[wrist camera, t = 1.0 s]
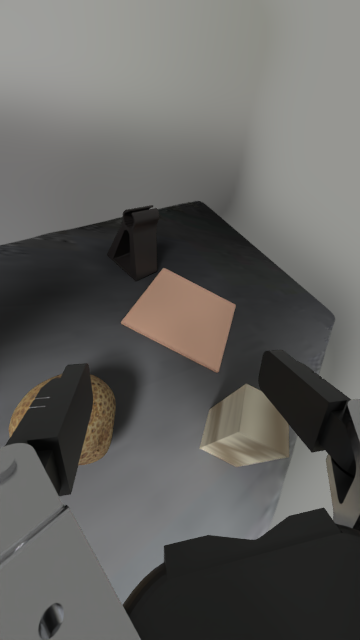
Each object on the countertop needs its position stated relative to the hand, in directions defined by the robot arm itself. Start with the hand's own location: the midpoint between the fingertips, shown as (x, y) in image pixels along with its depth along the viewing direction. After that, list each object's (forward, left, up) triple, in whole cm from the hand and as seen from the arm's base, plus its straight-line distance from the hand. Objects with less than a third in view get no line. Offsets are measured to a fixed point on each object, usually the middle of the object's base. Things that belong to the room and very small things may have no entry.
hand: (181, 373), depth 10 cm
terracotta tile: (0, +25, -21) cm, 32 cm away
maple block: (+12, +7, -21) cm, 25 cm away
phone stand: (-15, +31, -21) cm, 40 cm away
